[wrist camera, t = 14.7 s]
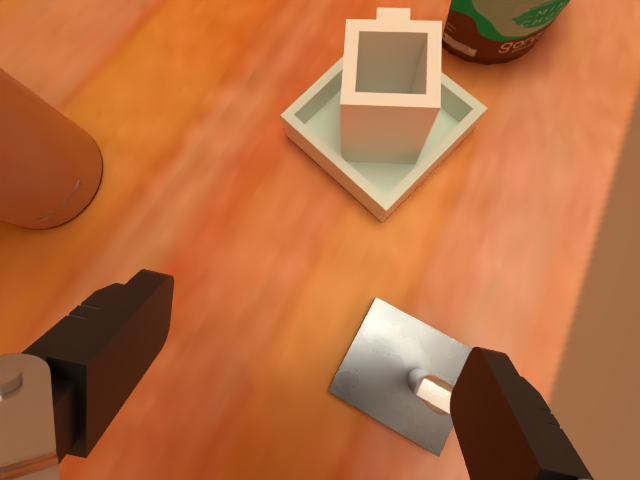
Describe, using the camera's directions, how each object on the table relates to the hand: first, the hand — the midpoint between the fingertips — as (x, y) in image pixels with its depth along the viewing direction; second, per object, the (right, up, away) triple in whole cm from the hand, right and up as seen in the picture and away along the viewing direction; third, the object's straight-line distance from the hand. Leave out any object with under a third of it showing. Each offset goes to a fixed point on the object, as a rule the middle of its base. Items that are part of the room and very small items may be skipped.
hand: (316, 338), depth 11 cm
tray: (+5, +11, +21) cm, 24 cm away
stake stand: (+6, -6, +17) cm, 19 cm away
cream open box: (+5, +11, +20) cm, 24 cm away
